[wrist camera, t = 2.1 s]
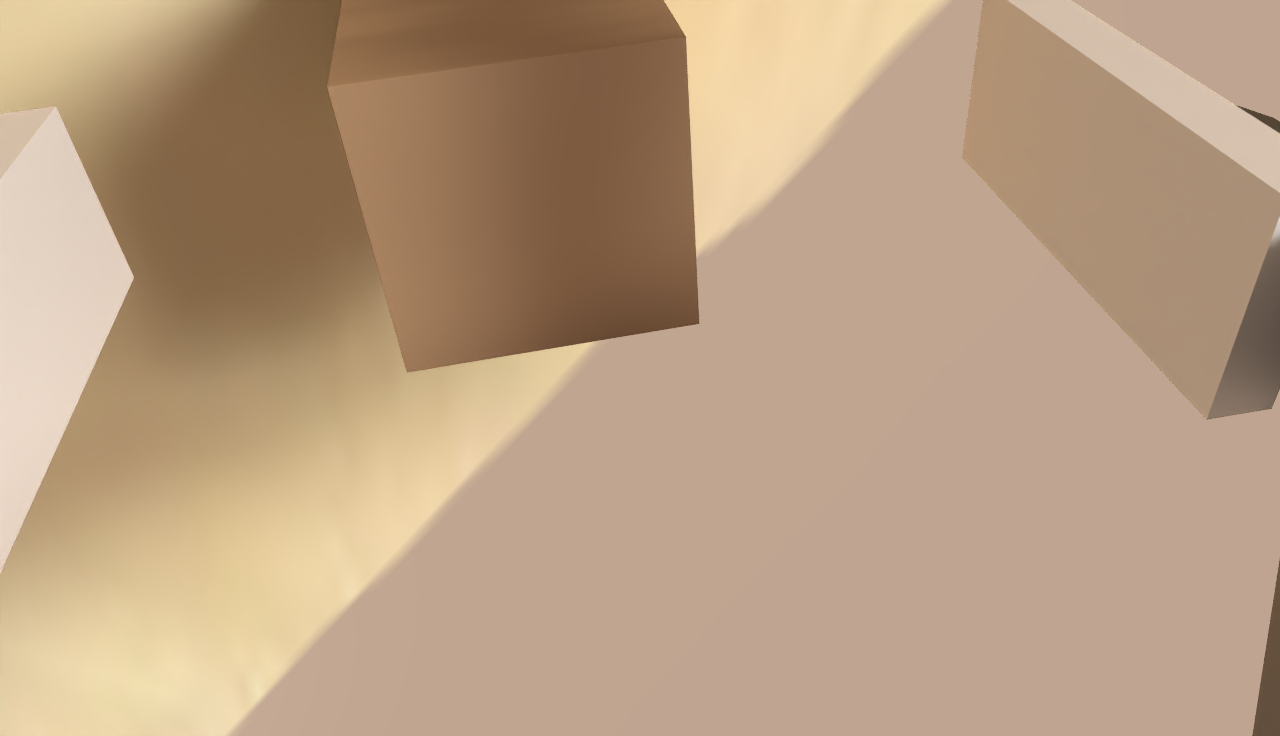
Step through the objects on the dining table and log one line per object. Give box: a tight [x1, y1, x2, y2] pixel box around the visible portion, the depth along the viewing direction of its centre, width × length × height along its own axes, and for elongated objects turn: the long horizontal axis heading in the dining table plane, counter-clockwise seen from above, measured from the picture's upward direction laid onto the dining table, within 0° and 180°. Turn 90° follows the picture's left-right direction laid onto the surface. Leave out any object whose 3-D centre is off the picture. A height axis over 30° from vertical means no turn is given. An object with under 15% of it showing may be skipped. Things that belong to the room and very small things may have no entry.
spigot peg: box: [327, 0, 699, 372], centre depth 16 cm, size 4×4×9 cm
